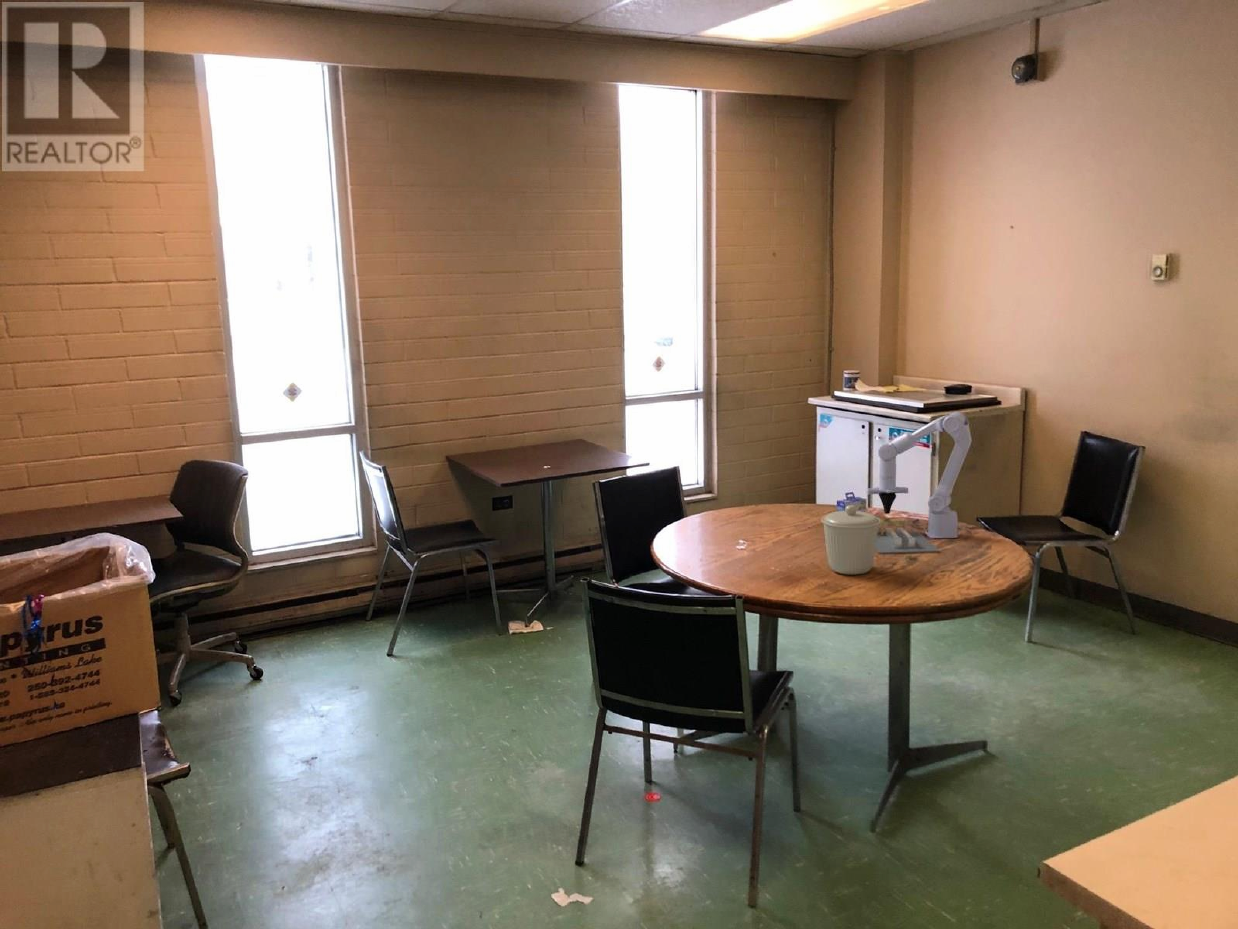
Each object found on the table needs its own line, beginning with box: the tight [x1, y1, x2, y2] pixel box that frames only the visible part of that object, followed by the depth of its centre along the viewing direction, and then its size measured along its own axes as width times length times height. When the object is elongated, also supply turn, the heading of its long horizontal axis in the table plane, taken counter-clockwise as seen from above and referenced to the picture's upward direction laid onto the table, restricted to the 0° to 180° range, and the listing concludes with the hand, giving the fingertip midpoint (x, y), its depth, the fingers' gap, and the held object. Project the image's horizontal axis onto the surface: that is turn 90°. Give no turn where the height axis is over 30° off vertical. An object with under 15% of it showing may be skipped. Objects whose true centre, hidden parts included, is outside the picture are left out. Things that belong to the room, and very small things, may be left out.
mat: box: [875, 530, 941, 555], centre depth 337 cm, size 20×26×1 cm
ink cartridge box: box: [836, 491, 867, 513], centre depth 352 cm, size 10×6×14 cm, turn 115°
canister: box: [821, 505, 881, 576], centre depth 306 cm, size 18×18×21 cm
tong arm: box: [885, 526, 902, 548], centre depth 336 cm, size 2×16×3 cm, turn 177°
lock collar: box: [878, 518, 906, 535], centre depth 346 cm, size 8×3×5 cm, turn 89°
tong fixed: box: [897, 526, 915, 548], centre depth 336 cm, size 2×16×3 cm, turn 179°
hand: (886, 513), depth 352 cm, fingers closed
